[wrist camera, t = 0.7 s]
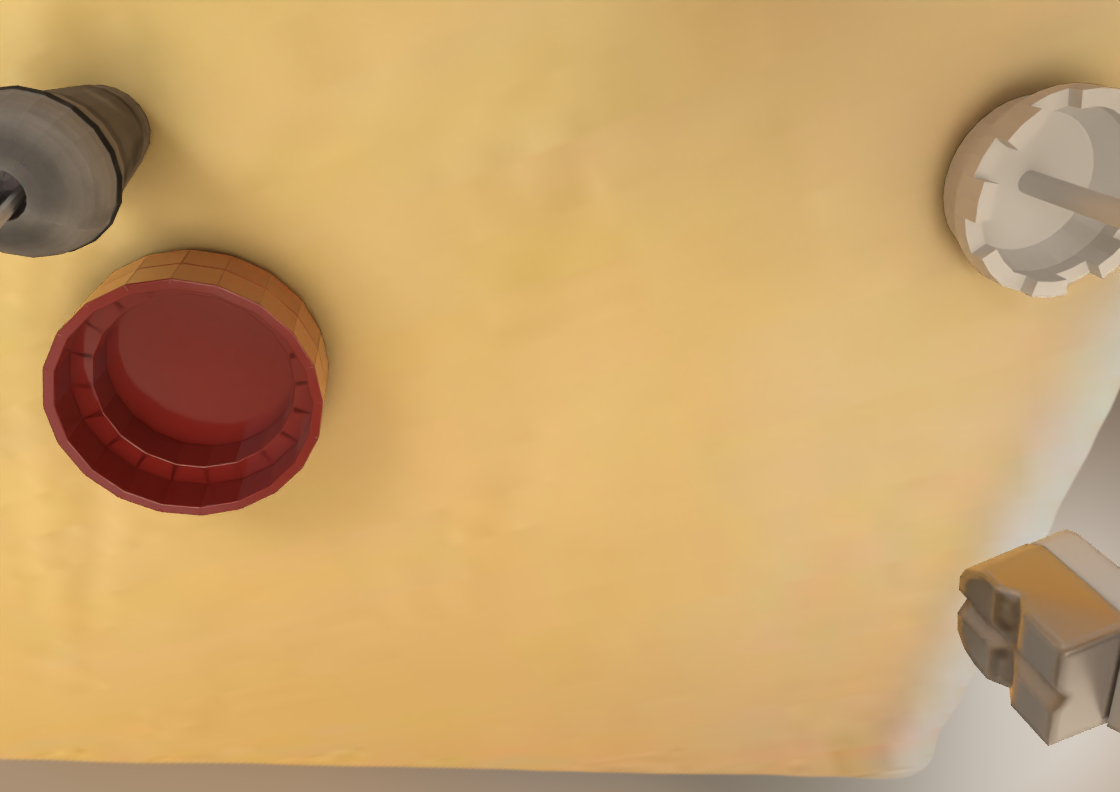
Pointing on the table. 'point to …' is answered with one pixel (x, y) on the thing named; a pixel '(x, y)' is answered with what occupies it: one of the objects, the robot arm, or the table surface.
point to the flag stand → (1040, 189)
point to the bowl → (188, 383)
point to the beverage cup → (65, 165)
